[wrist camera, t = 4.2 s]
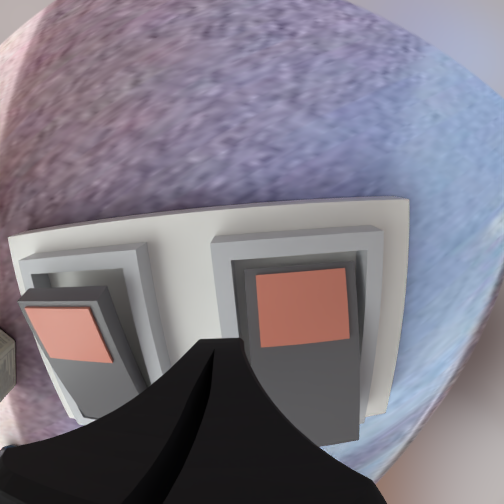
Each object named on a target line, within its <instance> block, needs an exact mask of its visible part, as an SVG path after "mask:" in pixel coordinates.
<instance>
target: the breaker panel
mask: <svg viewBox="0 0 504 504" xmlns="http://www.w3.org/2000/svg"><path fill="white" fill-rule="evenodd" d="M8 241H9V246H10V251H11V256H12V261H13V265H14V270H15V274H16V278H17V282H18V286H19V290H20V293H21V296H22V295H23V294H24V293H25V292H26V291H27V290H28V289H29V288H53V287H80V286H104V285H107V287H108V290H109V292H110V295H111V298H112V301H113V304H114V307H115V309H116V312H117V315H118V317H119V320H120V323H121V325H122V328H123V330H124V333H125V335H126V338H127V340H128V343H129V345H130V348H131V350H132V352H133V355H134V357H135V359H136V362H137V364H138V366H139V368H140V371H141V373H142V375H143V377H144V379H145V382H146V384H147V386H148V387H149V386H150V385H151V384H153V383H154V382H155V381H156V380H157V379H159V378H160V377H161V376H162V375H163V374H165V373H166V372H167V371H168V370H169V369H170V368H171V367H172V366H173V365H174V364H175V363H176V362H177V361H178V360H179V359H180V358H181V357H182V356H183V355H184V354H185V353H186V352H187V351H188V350H189V349H190V348H191V347H192V346H193V345H194V344H195V343H196V342H197V341H198V340H199V339H216V338H241V339H242V340H243V341H244V349H245V353H246V356H247V359H248V361H249V363H250V366H251V357H250V344H249V331H248V318H247V304H246V291H245V277H244V269H256V268H269V267H282V266H295V265H307V264H319V263H331V262H343V261H354V268H355V280H356V292H357V307H358V325H359V350H360V421H359V424H361V423H364V421H365V417H369V416H374V415H378V414H383V413H386V409H387V405H388V400H389V396H390V391H391V386H392V382H393V376H394V371H395V366H396V360H397V354H398V348H399V342H400V335H401V328H402V320H403V312H404V303H405V293H406V281H407V268H408V249H409V199H406V198H401V197H396V196H372V197H346V198H324V199H306V200H290V201H275V202H261V203H248V204H236V205H224V206H213V207H203V208H192V209H183V210H173V211H164V212H155V213H147V214H138V215H130V216H122V217H114V218H107V219H100V220H92V221H85V222H79V223H72V224H65V225H59V226H52V227H46V228H40V229H34V230H28V231H24V232H21V233H18V234H15V235H13V236H10V237H8ZM33 335H34V334H33ZM34 338H35V336H34ZM35 340H36V338H35ZM36 343H37V346H38V349H39V351H40V354H41V356H42V359H43V361H44V364H45V366H46V369H47V371H48V373H49V376H50V378H51V380H52V382H53V385H54V387H55V389H56V391H57V393H58V395H59V398H60V400H61V402H62V404H63V406H64V408H65V410H66V412H67V414H68V415H69V417H70V418H74V419H76V421H77V423H78V424H80V425H87V424H89V423H91V422H93V421H95V420H97V419H99V418H96V417H89V416H85V415H84V414H83V412H82V411H81V410H80V408H79V407H78V405H77V404H76V403H75V401H74V400H73V398H72V397H71V395H70V394H69V392H68V391H67V390H66V388H65V387H64V385H63V383H62V382H61V380H60V379H59V377H58V376H57V374H56V372H55V371H54V369H53V368H52V366H51V364H50V363H49V361H48V359H47V358H46V356H45V354H44V352H43V351H42V349H41V347H40V345H39V344H38V342H37V340H36Z"/></svg>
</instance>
